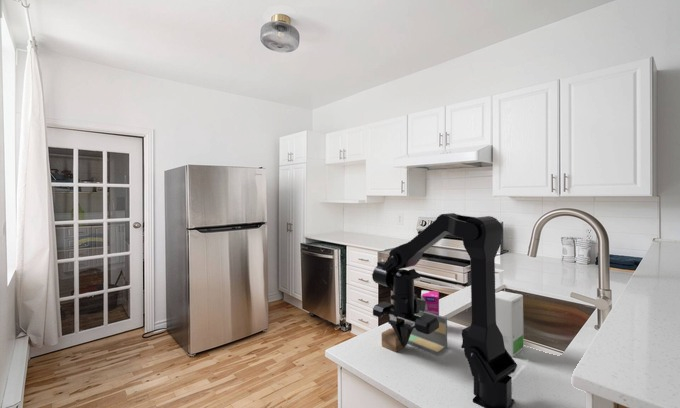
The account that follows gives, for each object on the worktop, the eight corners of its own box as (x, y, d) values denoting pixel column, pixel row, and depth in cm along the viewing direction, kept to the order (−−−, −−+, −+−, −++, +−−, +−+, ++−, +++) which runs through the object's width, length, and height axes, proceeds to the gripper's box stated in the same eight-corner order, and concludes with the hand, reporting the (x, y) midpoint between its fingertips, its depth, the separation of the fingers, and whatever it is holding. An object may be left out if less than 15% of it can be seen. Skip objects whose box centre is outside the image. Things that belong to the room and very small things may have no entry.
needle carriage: (407, 344, 91) (407, 331, 91) (395, 352, 87) (395, 338, 87) (393, 339, 95) (393, 326, 95) (381, 346, 91) (381, 332, 91)
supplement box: (420, 329, 102) (420, 295, 101) (421, 322, 107) (421, 289, 107) (439, 331, 100) (439, 296, 100) (439, 324, 106) (438, 290, 105)
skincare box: (512, 358, 83) (512, 301, 83) (487, 349, 88) (487, 295, 88) (524, 348, 89) (524, 294, 88) (500, 339, 94) (500, 289, 93)
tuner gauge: (447, 348, 89) (447, 317, 89) (436, 356, 85) (436, 324, 85) (396, 329, 102) (395, 302, 102) (384, 335, 98) (384, 307, 98)
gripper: (448, 292, 86) (449, 347, 86) (393, 279, 99) (394, 327, 100) (427, 302, 78) (428, 363, 78) (371, 287, 91) (372, 339, 92)
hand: (404, 346), depth 87 cm, fingers closed
